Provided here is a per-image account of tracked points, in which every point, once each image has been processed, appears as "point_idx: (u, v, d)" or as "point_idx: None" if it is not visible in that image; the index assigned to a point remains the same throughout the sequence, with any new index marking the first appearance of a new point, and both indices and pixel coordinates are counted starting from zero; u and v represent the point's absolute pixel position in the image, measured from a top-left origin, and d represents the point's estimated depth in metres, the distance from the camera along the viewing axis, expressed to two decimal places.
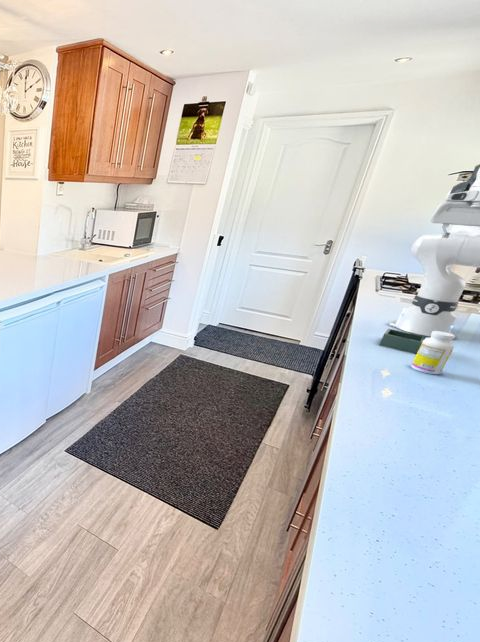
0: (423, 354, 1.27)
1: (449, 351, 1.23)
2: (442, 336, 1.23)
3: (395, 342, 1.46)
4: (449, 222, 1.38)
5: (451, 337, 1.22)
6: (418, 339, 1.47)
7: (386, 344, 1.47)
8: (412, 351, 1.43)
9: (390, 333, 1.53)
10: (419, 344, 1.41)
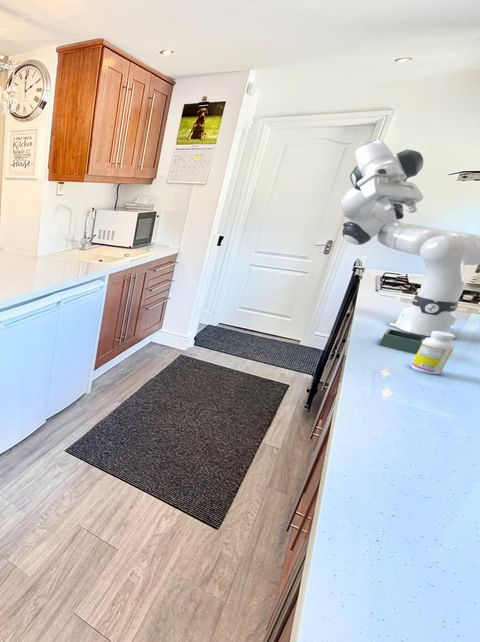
0: (423, 354, 1.27)
1: (449, 351, 1.23)
2: (442, 336, 1.23)
3: (395, 342, 1.46)
4: (388, 194, 1.36)
5: (451, 337, 1.22)
6: (418, 339, 1.47)
7: (386, 344, 1.47)
8: (412, 351, 1.43)
9: (390, 333, 1.53)
10: (419, 344, 1.41)
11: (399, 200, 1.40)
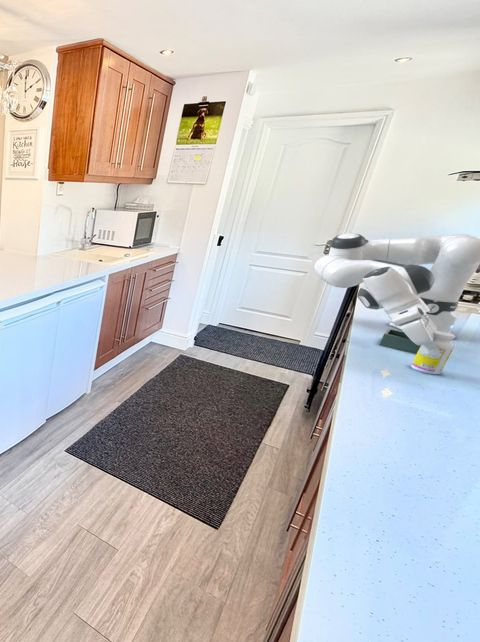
0: (424, 354, 1.27)
1: (449, 351, 1.23)
2: (442, 336, 1.23)
3: (395, 342, 1.46)
4: (433, 337, 1.23)
5: (451, 337, 1.22)
6: None
7: (386, 344, 1.47)
8: (412, 351, 1.43)
9: (390, 333, 1.53)
10: None
11: None
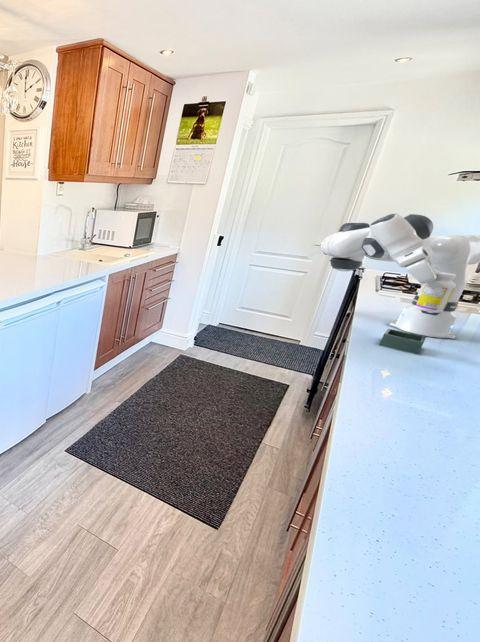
0: (427, 293, 1.35)
1: (451, 289, 1.31)
2: (445, 275, 1.31)
3: (395, 342, 1.46)
4: (436, 276, 1.31)
5: (453, 276, 1.31)
6: (418, 339, 1.47)
7: (386, 344, 1.47)
8: (412, 351, 1.43)
9: (390, 333, 1.53)
10: (419, 344, 1.41)
11: None
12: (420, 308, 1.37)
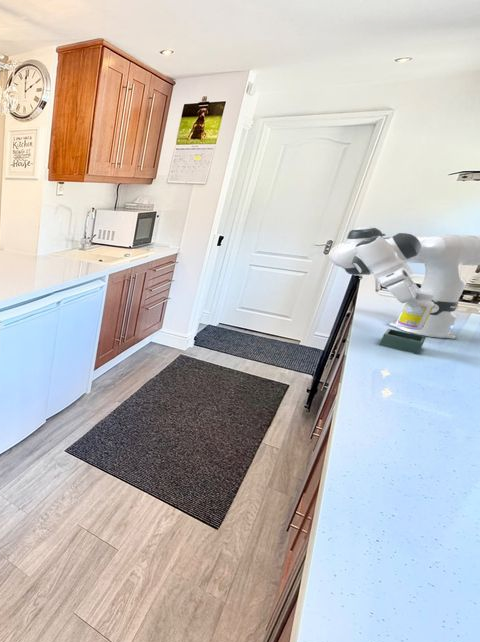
0: (408, 312, 1.43)
1: (430, 308, 1.40)
2: (424, 295, 1.40)
3: (395, 342, 1.46)
4: (415, 296, 1.39)
5: (431, 296, 1.39)
6: (418, 339, 1.47)
7: (386, 344, 1.47)
8: (412, 351, 1.43)
9: (390, 333, 1.53)
10: (419, 344, 1.41)
11: None
12: (401, 325, 1.45)
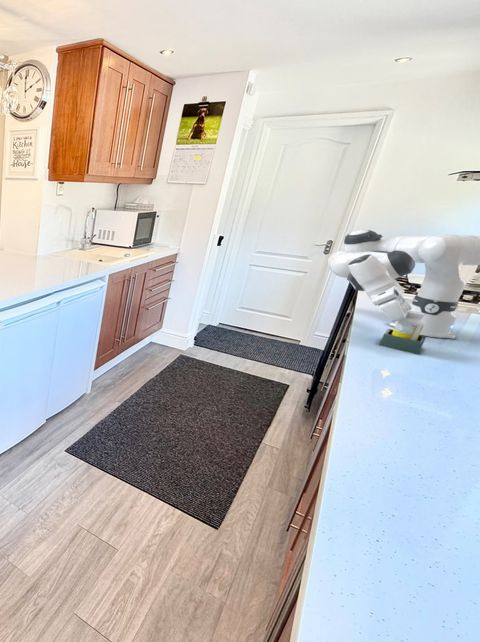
0: (399, 330, 1.46)
1: (420, 327, 1.42)
2: (414, 314, 1.42)
3: (395, 342, 1.46)
4: (406, 314, 1.42)
5: (422, 315, 1.42)
6: (418, 339, 1.47)
7: (386, 344, 1.47)
8: (412, 351, 1.43)
9: (390, 333, 1.53)
10: (419, 344, 1.41)
11: None
12: None
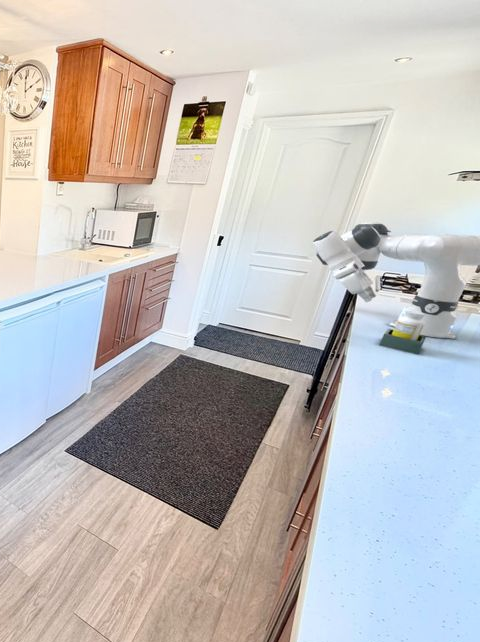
0: (399, 330, 1.46)
1: (420, 327, 1.42)
2: (414, 314, 1.42)
3: (395, 342, 1.46)
4: (365, 287, 1.48)
5: (422, 315, 1.42)
6: (418, 339, 1.47)
7: (386, 344, 1.47)
8: (412, 351, 1.43)
9: (390, 333, 1.53)
10: (419, 344, 1.41)
11: None
12: None
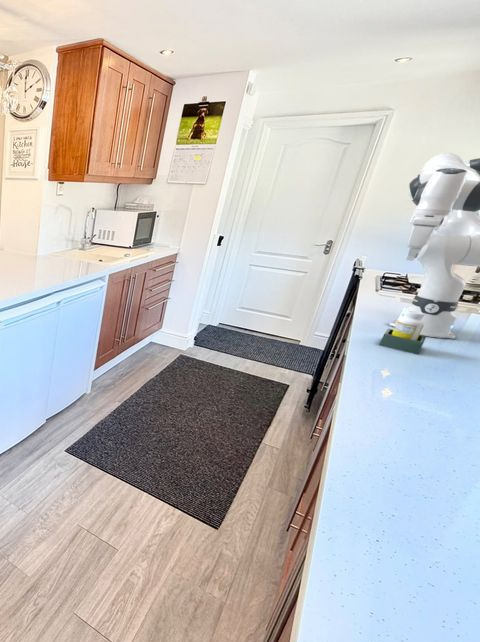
0: (399, 330, 1.46)
1: (420, 327, 1.42)
2: (414, 314, 1.42)
3: (395, 342, 1.46)
4: (423, 246, 1.37)
5: (422, 315, 1.42)
6: (418, 339, 1.47)
7: (386, 344, 1.47)
8: (412, 351, 1.43)
9: (390, 333, 1.53)
10: (419, 344, 1.41)
11: None
12: None
